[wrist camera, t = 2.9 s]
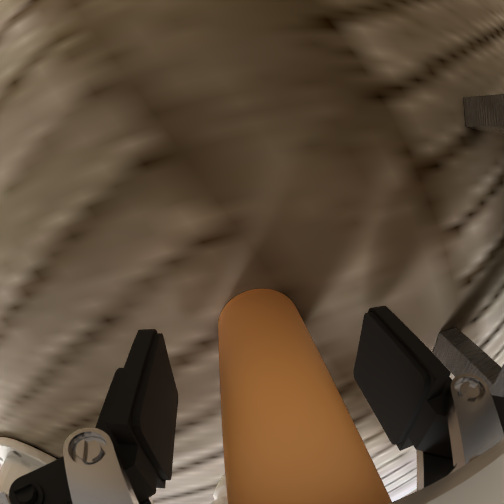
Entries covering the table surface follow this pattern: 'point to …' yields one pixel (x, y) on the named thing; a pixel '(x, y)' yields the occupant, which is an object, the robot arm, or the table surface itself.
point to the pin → (285, 412)
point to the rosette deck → (453, 340)
